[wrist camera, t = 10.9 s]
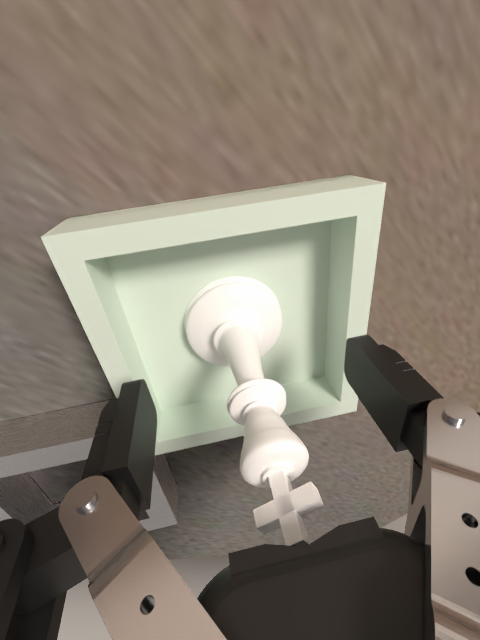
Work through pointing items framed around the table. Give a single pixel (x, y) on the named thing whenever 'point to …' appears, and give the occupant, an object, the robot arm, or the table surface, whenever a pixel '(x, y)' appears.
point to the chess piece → (255, 396)
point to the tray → (215, 263)
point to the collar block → (61, 448)
